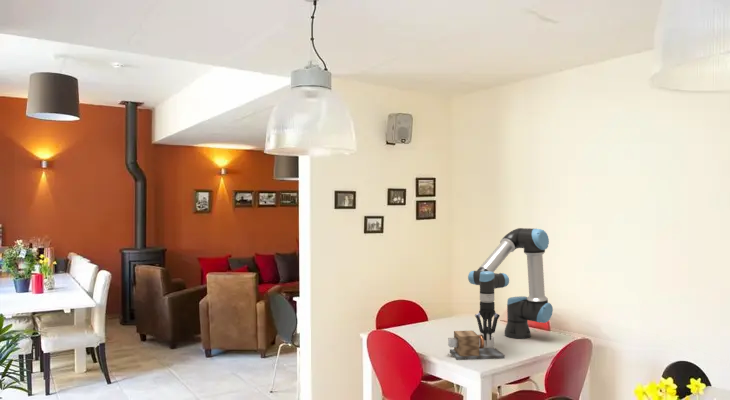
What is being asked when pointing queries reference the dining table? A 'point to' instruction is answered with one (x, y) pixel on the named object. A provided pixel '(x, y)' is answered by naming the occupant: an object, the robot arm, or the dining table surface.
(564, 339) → the dining table surface
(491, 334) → the medicine bottle
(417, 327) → the dining table surface
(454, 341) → the shaft
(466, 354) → the bearing block
